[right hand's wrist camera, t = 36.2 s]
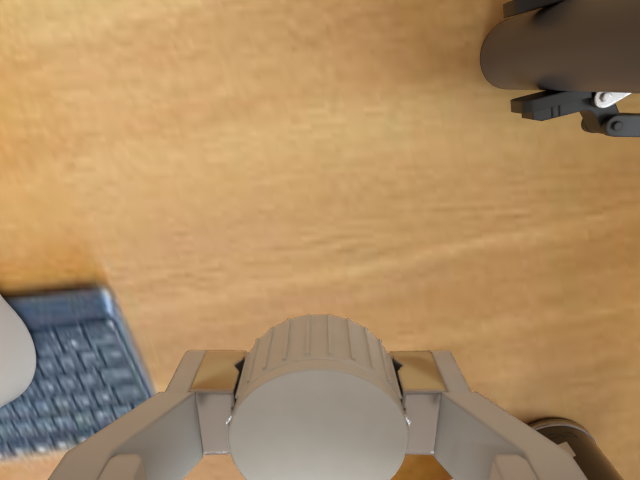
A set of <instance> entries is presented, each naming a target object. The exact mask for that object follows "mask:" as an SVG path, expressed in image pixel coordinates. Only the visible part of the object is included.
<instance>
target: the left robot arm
mask: <svg viewBox="0 0 640 480" xmlns="http://www.w3.org/2000/svg"><path fill="white" fill-rule="evenodd" d="M562 1H565V0H513V1H510V2H508V3H506V4H503V12H504V18H506V17H510V16H514V15H517V14H521V13H525V12H529V11H532V10H536V9H540V8H544V7H547V6H550V5H553V4H556V3H559V2H562ZM630 94H631V93H614V92H581V91H548V90H546V91H542V92H538V93H534V94H531V95H527V96H523V97H519V98H515V99H512V100H510V101H511V112H515V113H522V118H526V119H532V120H539V121H544V120H548V119H551V118H556V117H559V116H564V115H567V114H571V113H575V112H580V113H581V115H582V117H583V119H582V122H581V127H582V129H583V130H584V131H586V132H591V133H601V134H605V135H607V136H613V137H640V113H619V112H618V109H617V107H616V104H615V103H616V102H618V101H619V100H621V99H623V98H624V97H626V96H628V95H630ZM528 426H529V427H531V428H532V429H534V430H535V431H537V432H539V433H540V434H542V435H543V436H545V437H546V438H548V439H549V440H551V441H552V442H554V443H555V444H557V445H558V446H560V447H561V448H563V449H564V450H566V451H567V452H569V453H570V454H571V456H572V457H573V459H574V460H575V461H576V463H577V464H578V466H579V467H580V469H581V470H582V472H583V473H584V475H585V476H586V478H587V479H588V480H624V479H623V478H622V477H621V475H620V474H619V473H618V472H617V470H616V469H615V468H614V466H613V465H612V464H611V462H610V461H609V460H608V459H607V457H606V456H605V455H604V454H603V452H602V451H601V450H600V448H599V447H598V446H597V445H596V442H595V441H594V439H593V438H592V436H591V435H590V434H589V433H588V431H587V430H586V429H585V428H584V427H582V426H581V425H579V424H578V423H575V422H573V421H570V420H565V419H546V420H541V421H537V422H534V423H531V424H529V425H528Z"/></svg>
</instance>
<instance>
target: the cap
mask: <svg viewBox="0 0 640 480" xmlns="http://www.w3.org/2000/svg"><path fill="white" fill-rule="evenodd" d="M235 398H236V403H235V406H234V410H232V409H231V411H230V416H232V417H231V421H230V425H229V432H228V443H229V449H230V453H231V456H232V458H233V461H234V463H235V465H236V467H237V468H238V470H239V471H240V473H241V474H242V475H243V476H244V478H245V479H246V480H390V479H391V478H392V477H393V476H394V475H395V474H396V472H397V471H398V469H399V468H400V466H401V464H402V462H403V460H404V458H405V455H406V452H407V448H408V441H409V434H408V426H407V421H406V418H405V416H407V411H406V410H405V411H404V410H403V406H402V402H401V399H402V395H401V391H400V387H399V384H398V380H397V376H396V372H395V369H394V365H393V361H392V357H391V354H390V353H387V351H386V350H385V348H384V346H383V344H382V340H381V339H377V338H376V337H375V336H374V335H373V334H372V333H371V332H369V331H368V328H366V327H365V328H364V327H362V326H360V325H358V324H357V323H355V322H352V321H351V320H350V319H344V318H340V317H337V316H331V315H330V314H327V315H310V314H307V315H306V316H301V317H300V316H299V317H296V318H293V319H290V318H289V319H287V321H285V322H283V323H280V324H278V325H277V326H275V327H274V328H273V327H271V328H270V329H269V331H268V332H267V333H265V334H264V335H263V336H262V337H261V338H260V339H259V338H257V339H256V342H255V345H254V347H253V348H252V349H251V351H250V353H249V352H247V354H246V358H245V361H244V365H243V369H242V373H241V376H240V380H239V384H238V387H237V391H236V395H235Z"/></svg>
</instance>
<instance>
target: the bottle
mask: <svg viewBox="0 0 640 480" xmlns="http://www.w3.org/2000/svg"><path fill="white" fill-rule="evenodd" d="M480 65H481V69H482V72H483V74H484V76H485V78H486V79H487V80H488V81H489V82H490V83H491V84H492V85H494V86H496V87H498V88H502V89H516V90H548V91H581V92H614V93H640V0H565V1H562V2H559V3H556V4H553V5H550V6H547V7H544V8H540V9H537V10H534V11H531V12H528V13H525V14H522V15H519V16H516V17H513V18H510V19H507V20H505V21H503V22H501V23H500V24H498V25H497V26H496V27H494V28H493V29H492V30H491V31H490V33H489V34H488V35H487V37H486V39H485V41H484V43H483V45H482V49H481V53H480Z"/></svg>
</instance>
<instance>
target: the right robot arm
mask: <svg viewBox="0 0 640 480" xmlns="http://www.w3.org/2000/svg"><path fill="white" fill-rule="evenodd" d="M246 354H247V351H234V350H188V351H187V352H185V354H184V356H183V358H182V360H181V362H180V364H179V366H178V368H177V370H176V372H175V374H174V376H173V377H172V379H171V381H170V383H169V385H168V387H167V389H166V391H165V392H159V393H157V394H156V395H154V396H153V397H151V398H149V399H148V400H146V401H145V402H143V403H142V404H140V405H139V406H137V407H136V408H134V409H133V410H131V411H129V412H128V413H126V414H125V415H123V416H122V417H120V418H119V419H117V420H116V421H114V422H113V423H111V424H110V425H108V426H106V427H105V428H103V429H102V430H100V431H99V432H97V433H96V434H94V435H93V436H91V437H90V438H88V439H87V440H85V441H83V442H82V443H80V444H79V445H77V446H76V447H74V448H73V449H71V450H70V451H68V452H67V453H66V454H65V456H64V457H63V458H62V460H61V461H60V463H59V464H58V466H57V467H56V468H55V470H54V471H53V473H52V474H51V476H50V477H49V479H48V480H182V479H183V478H184V477H185V476H186V475H187V474H188V473H189V472H190V471H191V470H192V468H193V467H194V466H195V465H196V464H197V463H198V462H199V461H200V460H201V459H202V458H203V455H219V454H231V453H230V449H229V443H228V432H229V425H230V421H231V417H232V416H230V411H231V409H232V410H234V406H235V403H236V398H235V395H236V391H237V387H238V384H239V380H240V376H241V373H242V369H243V365H244V361H245V358H246ZM390 354H391V357H392V361H393V365H394V369H395V372H396V376H397V380H398V384H399V387H400V391H401V395H402V399H401V402H402V406H403V410H404V411H405V410H406V411H407V416H405V418H406V421H407V426H408V434H409V441H408V448H407V452H406V454H417V455H434V458H435V459H436V460H437V461H438V462H439V463H440V464H441V465H442V466H443V467H444V469H445V470H446V471H447V472H448V473H449V474H450V475H451V476H452V477H453V478H454V479H455V480H588V479H587V478H586V476H585V475H584V473H583V472H582V470H581V469H580V467H579V466H578V464H577V463H576V461H575V460H574V459H573V457H572V456H571V454H570V453H569V452H567V451H566V450H564V449H563V448H561V447H560V446H558V445H557V444H555V443H554V442H552V441H551V440H549V439H548V438H546V437H545V436H543V435H542V434H540V433H539V432H537V431H535V430H534V429H532V428H531V427H529V426H528V425H526V424H525V423H523V422H522V421H520V420H519V419H517V418H516V417H514V416H513V415H511V414H510V413H508V412H507V411H505V410H504V409H502V408H501V407H499V406H498V405H496V404H495V403H493V402H492V401H490V400H489V399H487V398H485V397H484V396H482V395H481V394H479V393H478V392H471V390H470V388H469V386H468V384H467V382H466V380H465V378H464V376H463V374H462V372H461V370H460V368H459V366H458V364H457V362H456V360H455V358H454V356H453V354H452V352H451V351H449V350H429V351H390ZM35 369H36V352H35V347H34V343H33V340H32V337H31V335H30V333H29V331H28V329H27V327H26V326H25V324H24V322H23V321H22V320H21V318H20V317H19V316H18V314H17V313H16V312H15V311H14V310H13V309H12V308H11V306H10V305H9V304H8V303H7V302H6V301H5V300H4V298H3V297H2V296H1V294H0V407H2V406H4V405H5V404H7V403H9V402H11V401H13V400H14V399H16V398H17V397H19V396H20V395H21V394H22V393H23V392H24V391H25V390H26V389H27V388H28V386H29V385H30V383H31V381H32V379H33V376H34V373H35Z"/></svg>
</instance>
